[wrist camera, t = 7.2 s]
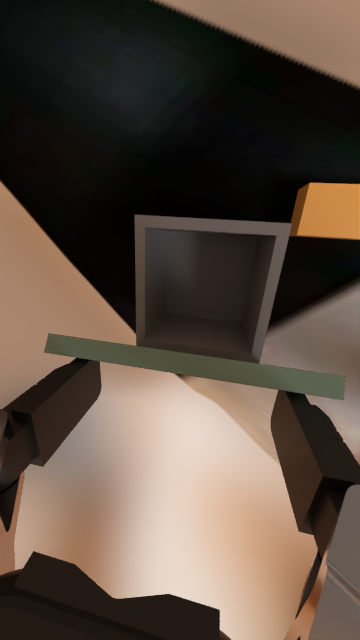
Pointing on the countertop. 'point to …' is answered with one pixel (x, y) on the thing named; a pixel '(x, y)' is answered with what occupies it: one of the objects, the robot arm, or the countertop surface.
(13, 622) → the robot arm
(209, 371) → the lid
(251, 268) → the storage box
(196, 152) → the countertop surface
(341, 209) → the orange rectangular block
